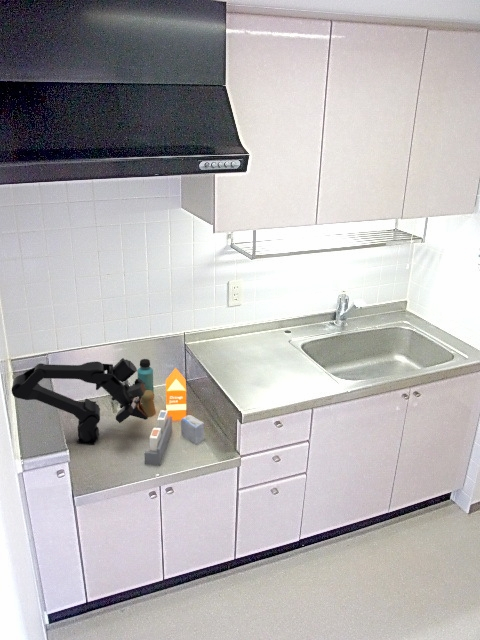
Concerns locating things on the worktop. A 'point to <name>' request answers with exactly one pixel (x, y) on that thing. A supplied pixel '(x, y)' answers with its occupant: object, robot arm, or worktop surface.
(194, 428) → the medicine box
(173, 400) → the orange juice
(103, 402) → the worktop surface
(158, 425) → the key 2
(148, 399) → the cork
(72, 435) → the worktop surface
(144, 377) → the beverage bottle
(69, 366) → the robot arm
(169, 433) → the grey holder stand
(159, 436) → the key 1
